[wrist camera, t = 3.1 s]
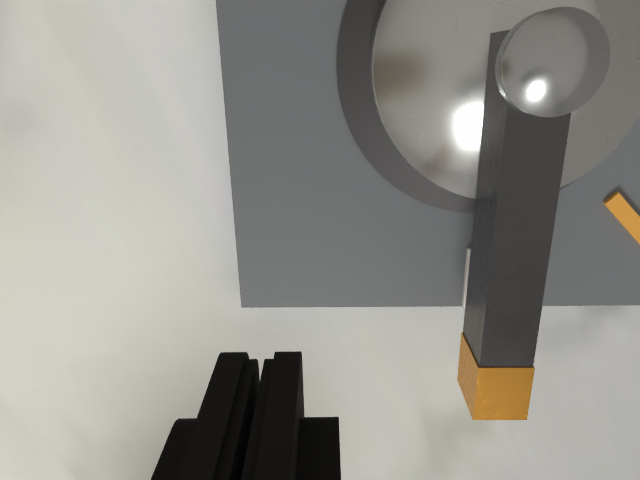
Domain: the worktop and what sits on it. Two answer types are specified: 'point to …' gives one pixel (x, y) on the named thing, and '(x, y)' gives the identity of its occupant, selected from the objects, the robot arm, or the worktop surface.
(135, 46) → the worktop surface
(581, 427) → the worktop surface
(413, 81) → the dial
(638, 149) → the panel
